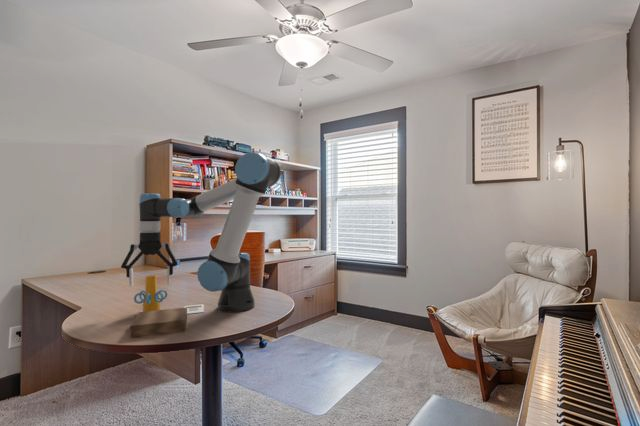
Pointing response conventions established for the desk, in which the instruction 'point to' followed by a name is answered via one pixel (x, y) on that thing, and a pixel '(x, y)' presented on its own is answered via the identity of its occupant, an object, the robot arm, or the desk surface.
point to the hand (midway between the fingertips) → (150, 284)
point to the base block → (159, 322)
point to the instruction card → (195, 309)
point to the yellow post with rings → (150, 295)
